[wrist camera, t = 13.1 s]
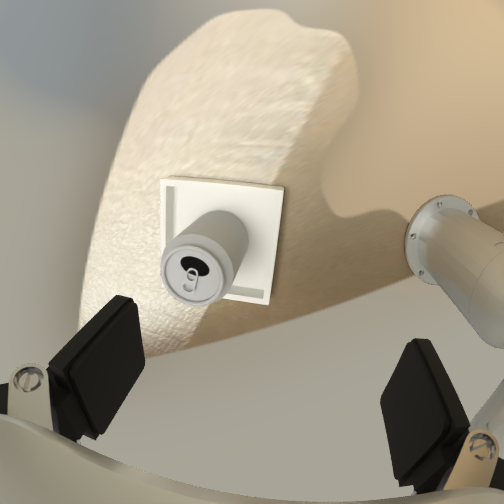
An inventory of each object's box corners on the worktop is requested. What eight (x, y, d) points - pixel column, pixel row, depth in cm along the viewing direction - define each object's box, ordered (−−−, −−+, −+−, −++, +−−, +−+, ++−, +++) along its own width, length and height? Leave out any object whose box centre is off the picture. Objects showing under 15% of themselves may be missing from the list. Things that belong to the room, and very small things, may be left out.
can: (257, 221, 36) (240, 257, 25) (239, 272, 39) (217, 324, 28) (201, 200, 37) (161, 227, 25) (186, 253, 39) (148, 296, 28)
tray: (284, 186, 35) (283, 190, 32) (270, 294, 40) (268, 305, 38) (170, 175, 36) (160, 178, 34) (169, 277, 42) (161, 287, 39)
